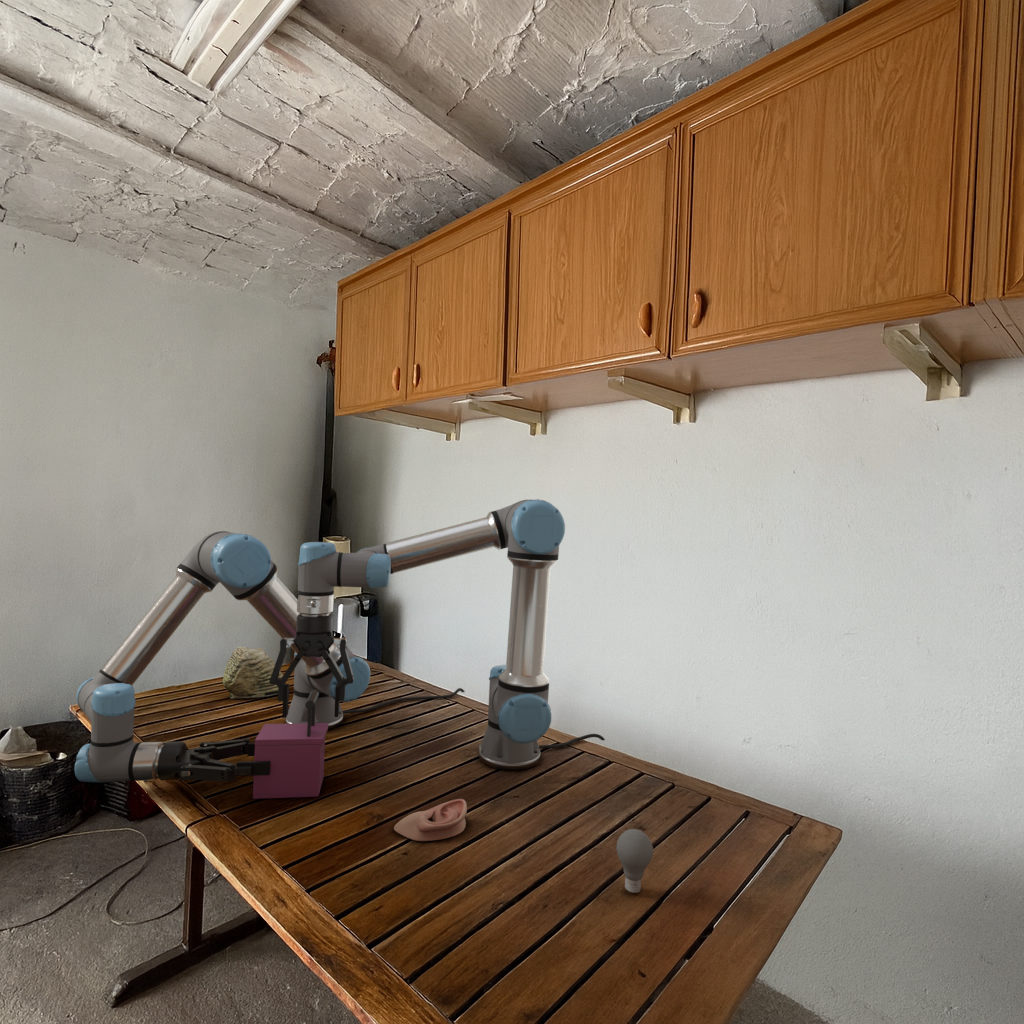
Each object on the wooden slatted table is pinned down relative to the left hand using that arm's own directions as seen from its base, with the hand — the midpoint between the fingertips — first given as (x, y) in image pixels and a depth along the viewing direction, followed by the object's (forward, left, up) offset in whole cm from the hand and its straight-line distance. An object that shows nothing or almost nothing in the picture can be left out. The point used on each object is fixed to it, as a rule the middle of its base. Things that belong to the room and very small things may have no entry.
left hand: (274, 758), depth 137 cm
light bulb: (-21, +75, -7) cm, 78 cm away
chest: (-3, +2, -7) cm, 7 cm away
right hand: (-5, +5, +9) cm, 12 cm away
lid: (-3, +2, +5) cm, 6 cm away
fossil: (-30, -61, -7) cm, 68 cm away
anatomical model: (-12, +36, -7) cm, 39 cm away
